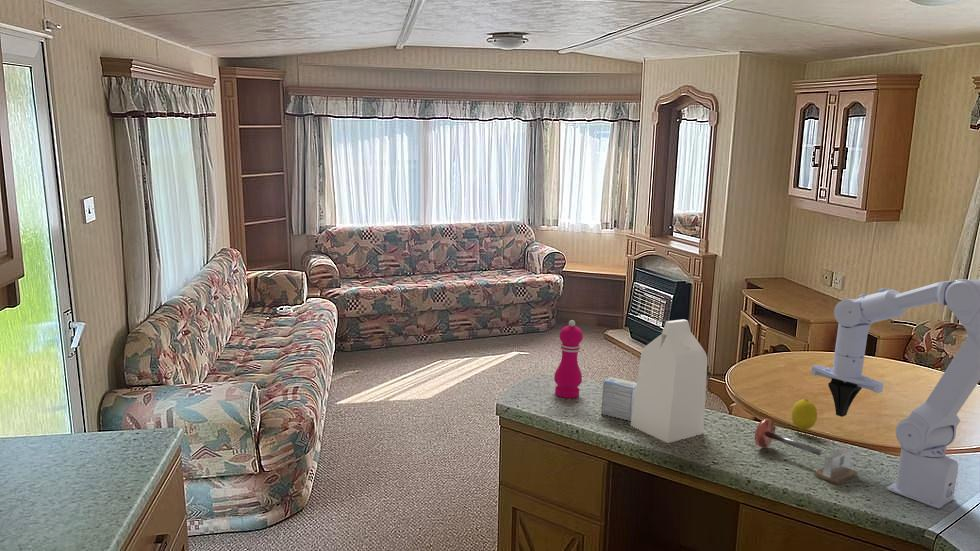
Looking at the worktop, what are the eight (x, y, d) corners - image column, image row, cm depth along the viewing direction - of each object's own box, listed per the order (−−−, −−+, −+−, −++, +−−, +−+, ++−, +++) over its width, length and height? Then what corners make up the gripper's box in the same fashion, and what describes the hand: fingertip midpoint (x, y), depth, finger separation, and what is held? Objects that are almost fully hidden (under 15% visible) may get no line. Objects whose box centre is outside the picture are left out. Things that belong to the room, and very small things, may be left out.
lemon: (817, 436, 170) (821, 403, 168) (792, 433, 171) (796, 401, 169) (811, 428, 175) (815, 396, 174) (787, 425, 176) (791, 393, 175)
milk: (665, 417, 177) (675, 313, 173) (703, 433, 168) (714, 324, 164) (630, 425, 171) (639, 317, 166) (667, 443, 161) (678, 329, 157)
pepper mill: (552, 397, 188) (557, 322, 184) (554, 388, 195) (559, 316, 191) (580, 400, 186) (585, 324, 183) (581, 391, 193) (586, 318, 190)
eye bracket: (857, 475, 149) (860, 452, 149) (838, 485, 144) (841, 461, 144) (833, 466, 153) (836, 444, 152) (813, 475, 148) (816, 452, 147)
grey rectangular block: (637, 417, 177) (640, 383, 175) (630, 422, 173) (633, 387, 171) (607, 409, 181) (610, 376, 179) (600, 414, 177) (602, 380, 175)
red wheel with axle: (825, 463, 154) (829, 435, 153) (810, 470, 150) (814, 441, 149) (764, 441, 164) (767, 414, 163) (748, 447, 161) (751, 419, 159)
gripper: (893, 360, 152) (884, 422, 154) (825, 343, 163) (817, 401, 165) (878, 365, 147) (868, 428, 150) (809, 347, 159) (801, 407, 161)
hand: (841, 415), depth 157 cm, fingers closed
